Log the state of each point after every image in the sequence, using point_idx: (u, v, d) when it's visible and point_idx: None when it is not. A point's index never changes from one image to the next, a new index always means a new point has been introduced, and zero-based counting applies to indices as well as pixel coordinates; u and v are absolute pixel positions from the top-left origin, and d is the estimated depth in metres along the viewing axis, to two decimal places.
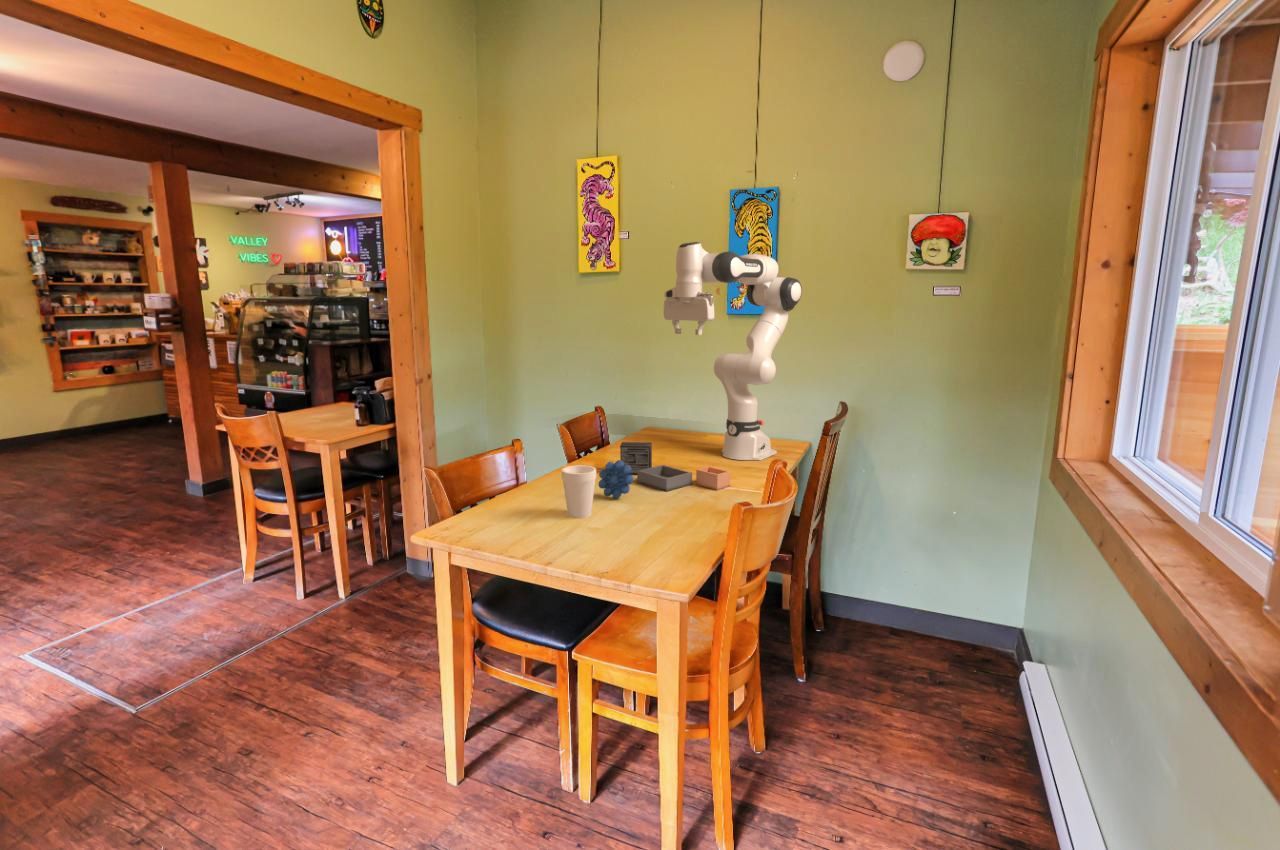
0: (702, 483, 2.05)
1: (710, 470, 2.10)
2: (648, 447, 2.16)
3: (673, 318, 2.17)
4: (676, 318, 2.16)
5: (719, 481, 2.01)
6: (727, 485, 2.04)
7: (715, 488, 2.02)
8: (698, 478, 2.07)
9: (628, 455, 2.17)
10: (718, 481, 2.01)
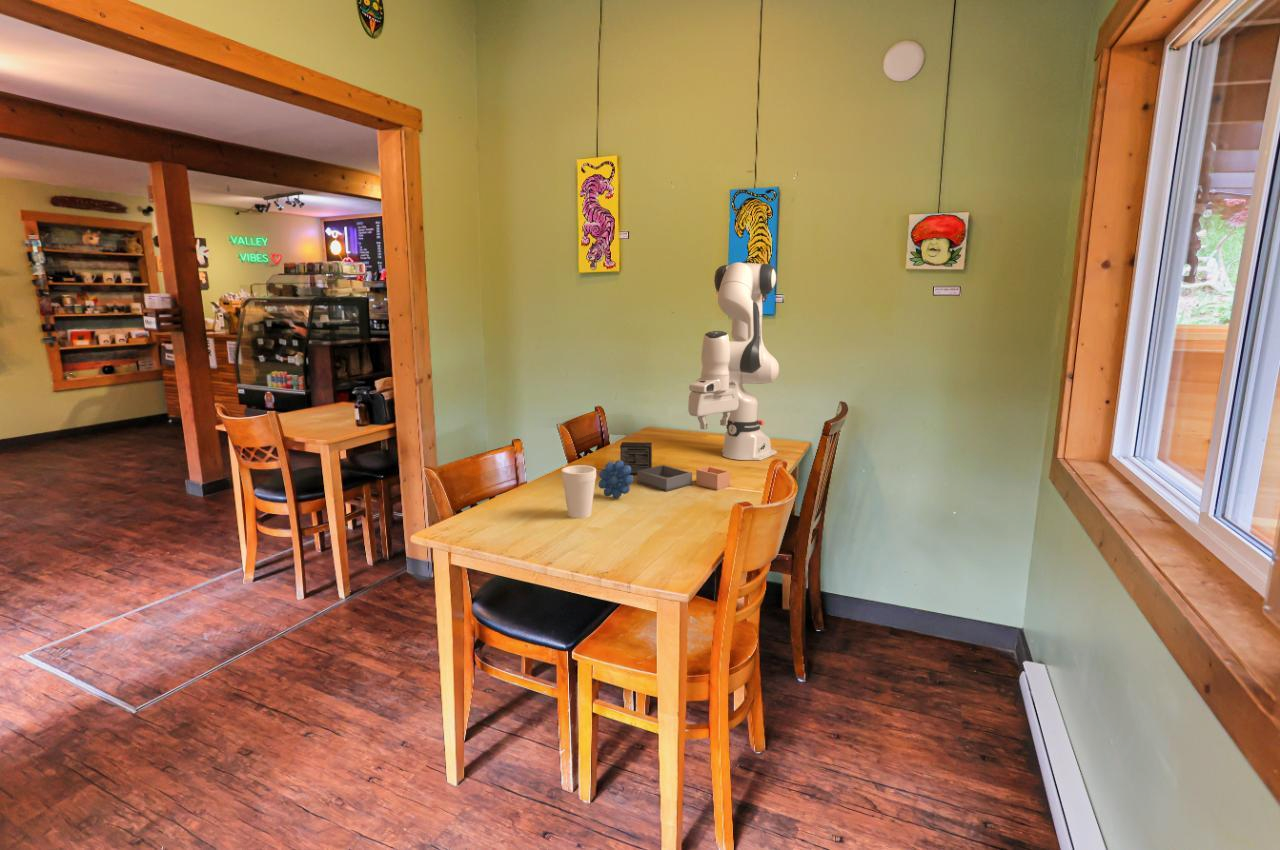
0: (702, 483, 2.05)
1: (710, 470, 2.10)
2: (648, 447, 2.16)
3: (707, 413, 1.97)
4: (710, 413, 1.98)
5: (719, 481, 2.01)
6: (727, 485, 2.04)
7: (715, 488, 2.02)
8: (698, 478, 2.07)
9: (628, 455, 2.17)
10: (718, 481, 2.01)
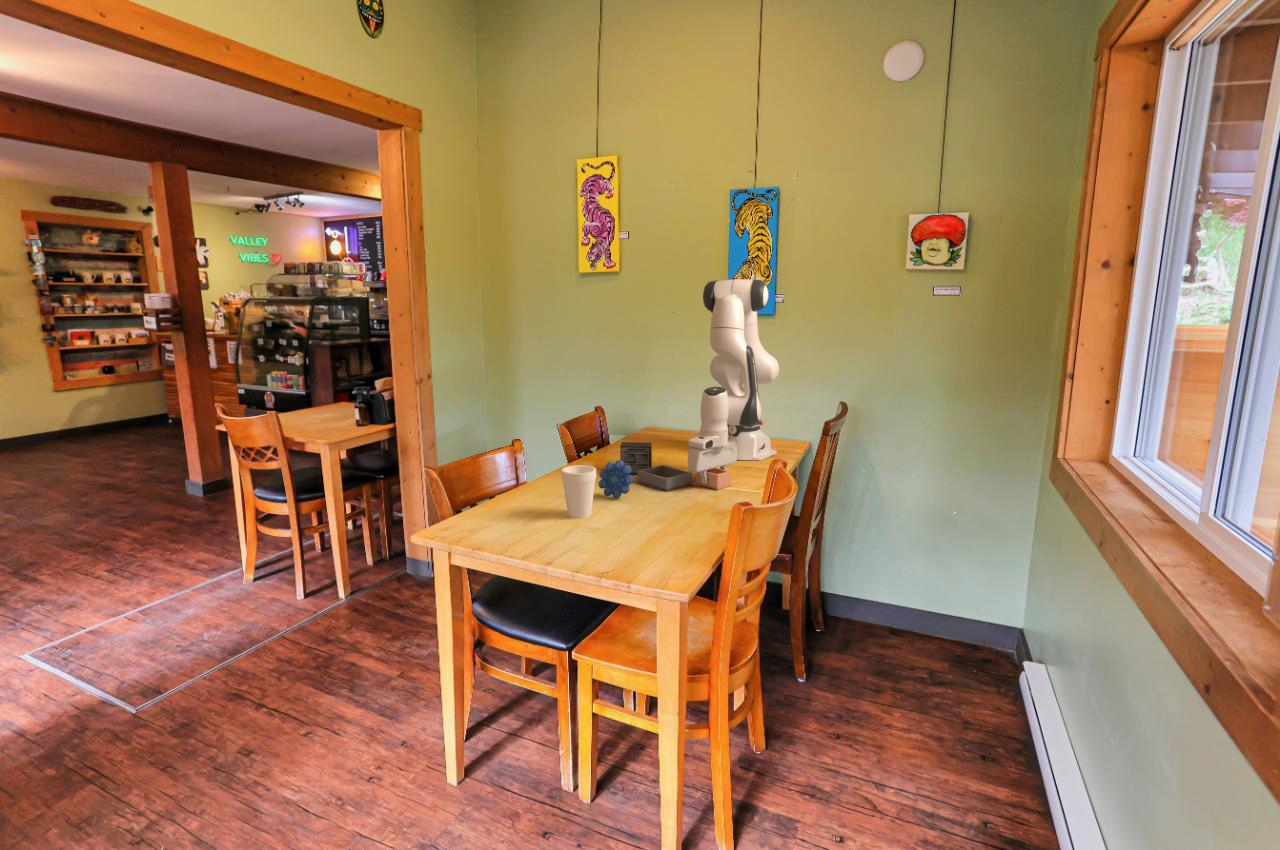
0: (702, 483, 2.05)
1: (710, 470, 2.10)
2: (648, 447, 2.16)
3: (706, 468, 2.00)
4: (709, 468, 2.01)
5: (719, 481, 2.01)
6: (727, 485, 2.04)
7: (715, 488, 2.02)
8: (698, 478, 2.07)
9: (628, 455, 2.17)
10: (718, 481, 2.01)
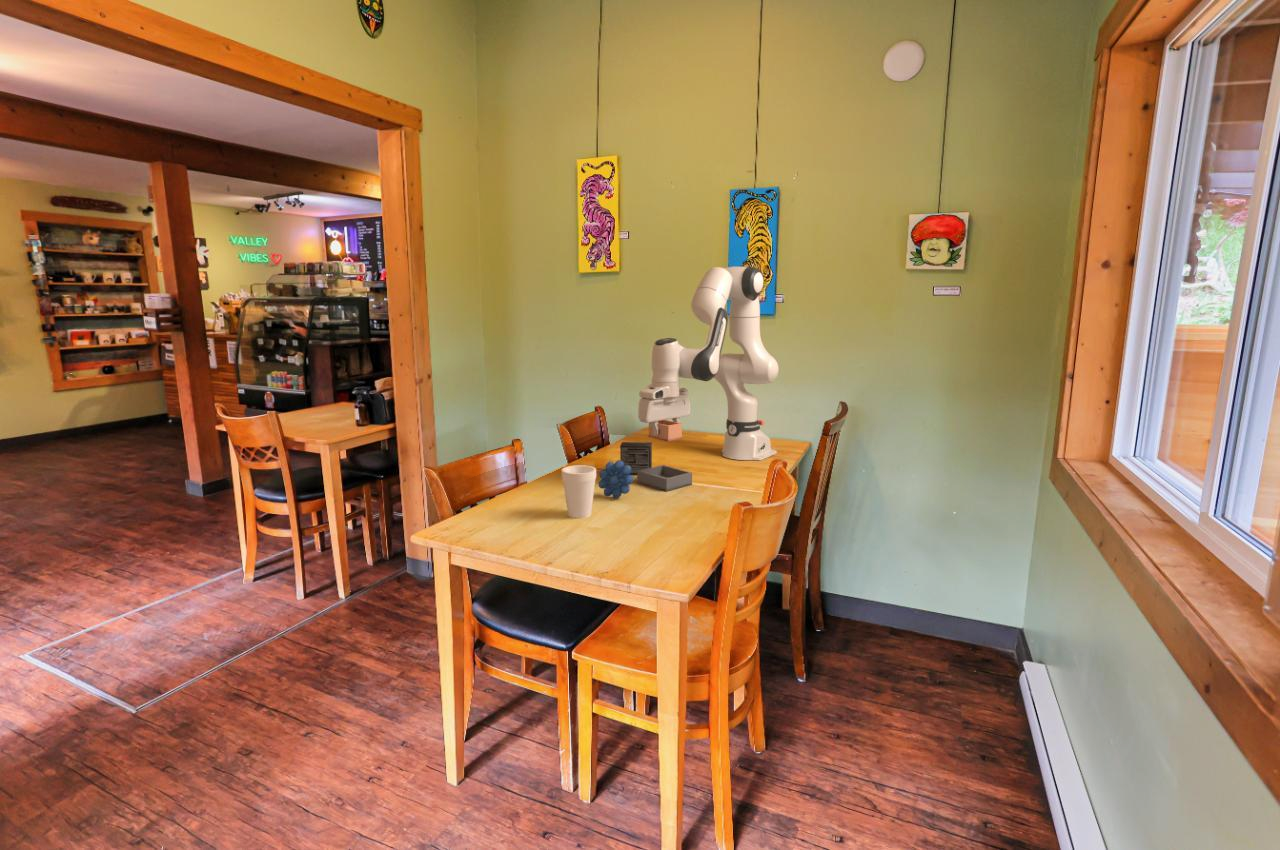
0: (654, 435, 2.05)
1: (663, 423, 2.09)
2: (648, 447, 2.16)
3: (657, 419, 2.00)
4: (660, 419, 2.00)
5: (670, 432, 2.00)
6: (679, 437, 2.03)
7: (666, 439, 2.01)
8: (650, 430, 2.06)
9: (628, 455, 2.17)
10: (669, 432, 2.00)
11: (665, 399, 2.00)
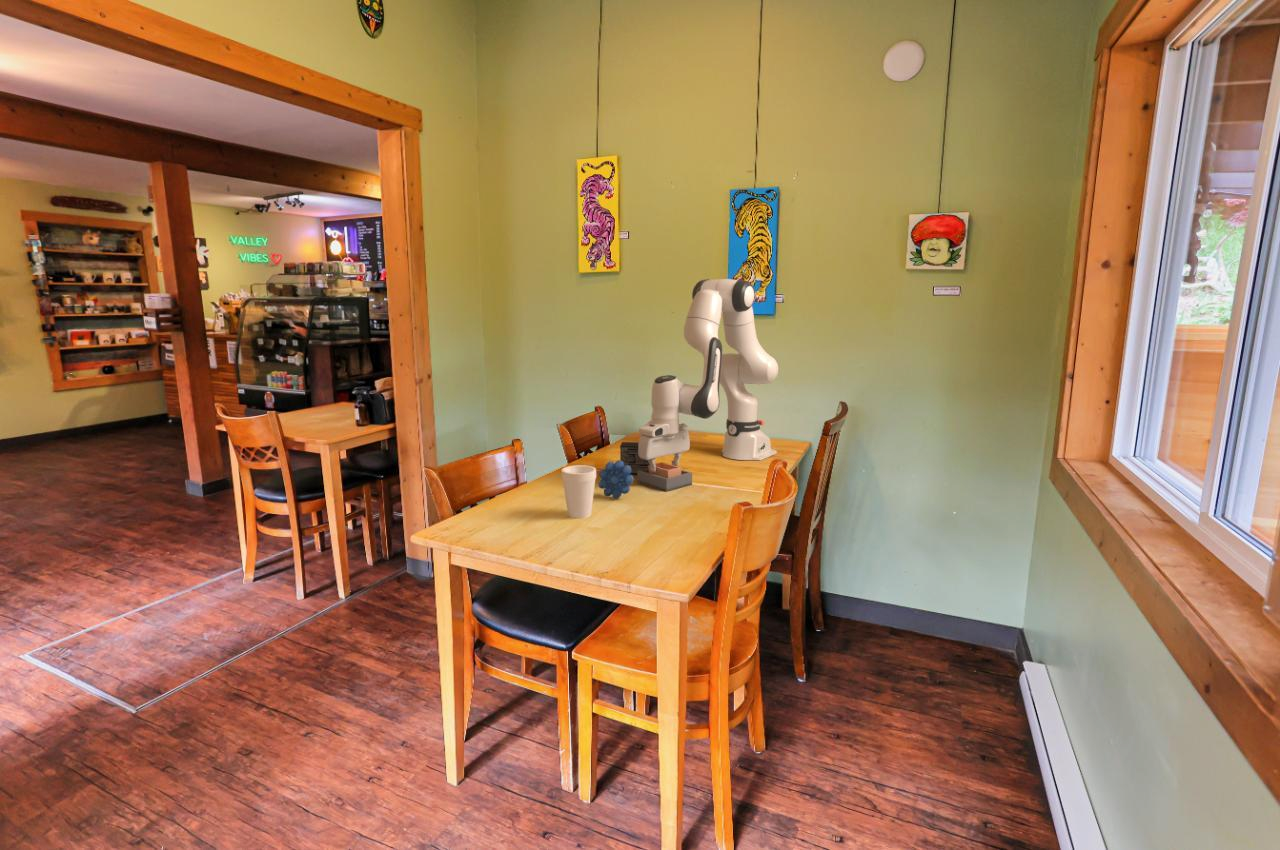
0: None
1: (663, 466, 2.12)
2: None
3: (656, 456, 2.02)
4: (660, 455, 2.03)
5: None
6: None
7: None
8: None
9: (628, 455, 2.17)
10: (669, 477, 2.03)
11: (665, 436, 2.02)
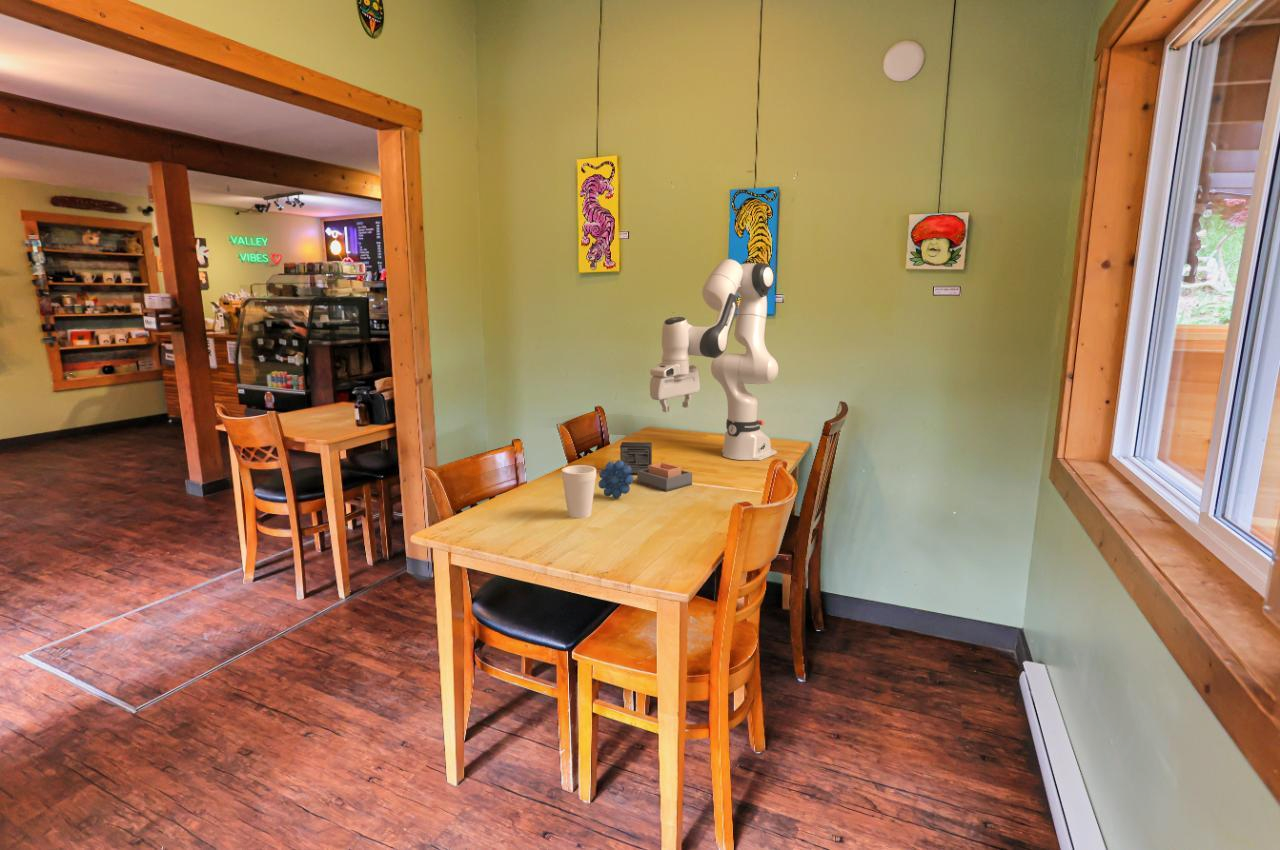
0: None
1: (663, 466, 2.12)
2: (648, 447, 2.16)
3: (668, 397, 2.06)
4: (671, 396, 2.07)
5: None
6: None
7: None
8: None
9: (628, 455, 2.17)
10: (669, 477, 2.03)
11: (675, 377, 2.06)
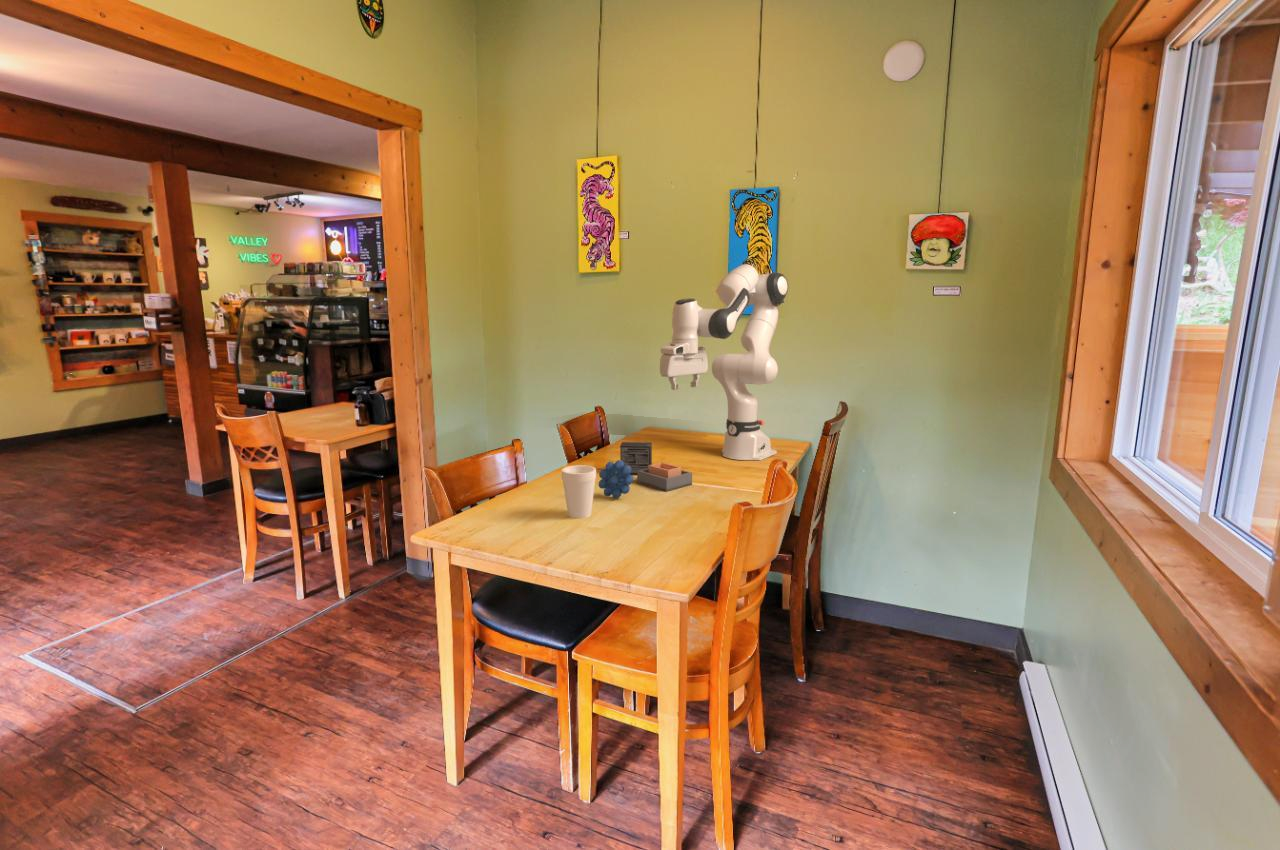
0: None
1: (663, 466, 2.12)
2: (648, 447, 2.16)
3: (677, 374, 2.13)
4: (680, 374, 2.14)
5: None
6: None
7: None
8: None
9: (628, 455, 2.17)
10: (669, 477, 2.03)
11: (685, 355, 2.13)
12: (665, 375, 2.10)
